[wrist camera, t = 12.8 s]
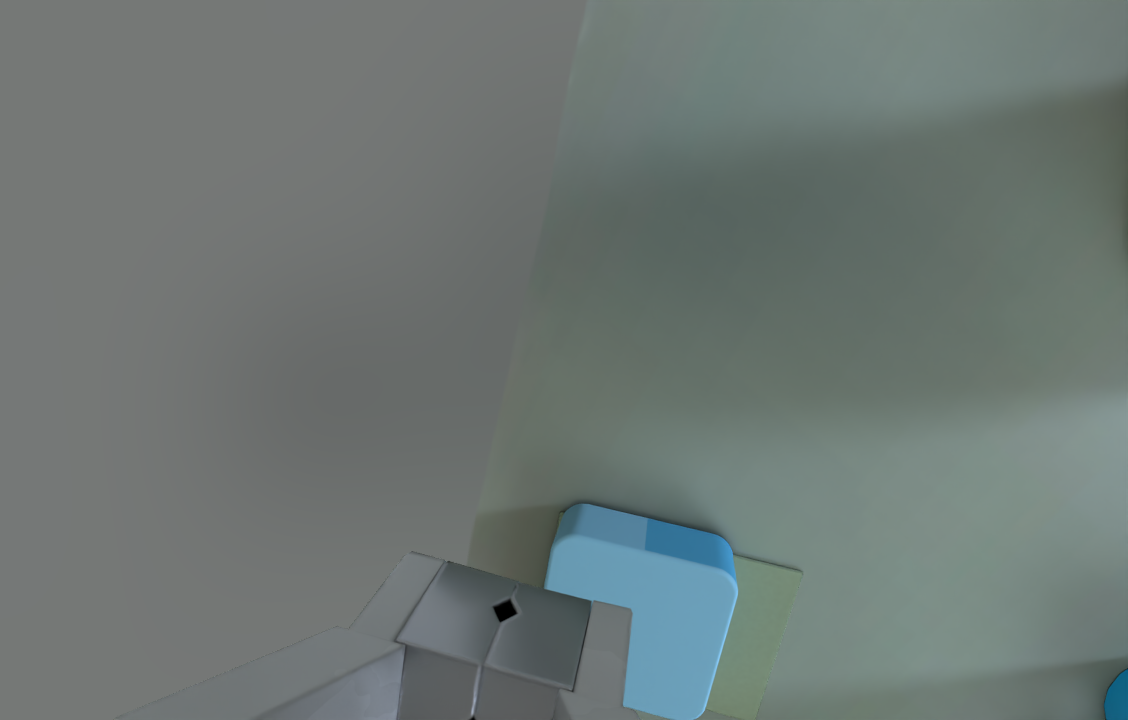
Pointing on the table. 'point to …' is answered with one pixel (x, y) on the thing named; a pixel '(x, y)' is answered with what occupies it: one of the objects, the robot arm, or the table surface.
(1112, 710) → the mug
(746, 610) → the mat
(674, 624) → the data package
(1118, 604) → the table surface
